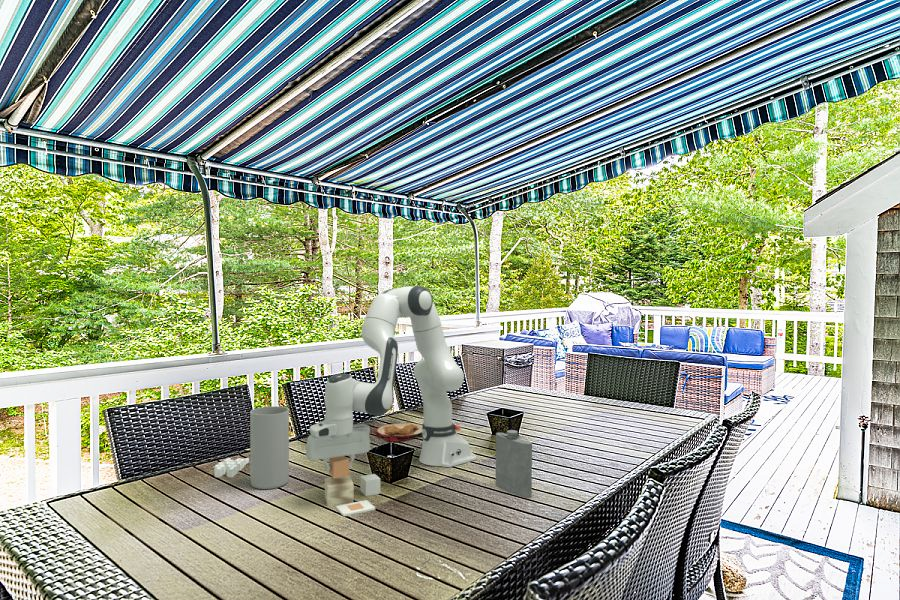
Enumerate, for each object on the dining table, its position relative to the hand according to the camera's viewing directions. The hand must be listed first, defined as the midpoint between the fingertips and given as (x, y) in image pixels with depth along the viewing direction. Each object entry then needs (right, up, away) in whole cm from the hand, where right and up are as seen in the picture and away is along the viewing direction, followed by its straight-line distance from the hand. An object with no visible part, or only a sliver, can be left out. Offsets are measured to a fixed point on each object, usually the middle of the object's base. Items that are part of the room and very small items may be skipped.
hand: (338, 469), depth 175 cm
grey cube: (+9, -10, +7) cm, 15 cm away
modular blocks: (-44, -9, +28) cm, 53 cm away
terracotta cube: (0, -2, 0) cm, 2 cm away
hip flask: (+56, -10, +9) cm, 58 cm away
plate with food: (+13, -8, +79) cm, 81 cm away
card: (+7, -10, -7) cm, 14 cm away
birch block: (0, -10, 0) cm, 10 cm away
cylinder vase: (-26, -9, +14) cm, 31 cm away
